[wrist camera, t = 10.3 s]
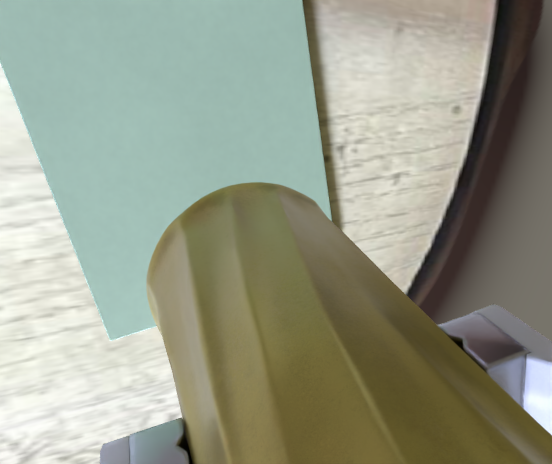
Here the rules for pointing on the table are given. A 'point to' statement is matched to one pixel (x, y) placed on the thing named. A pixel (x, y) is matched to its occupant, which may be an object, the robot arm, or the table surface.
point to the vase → (314, 347)
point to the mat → (158, 120)
